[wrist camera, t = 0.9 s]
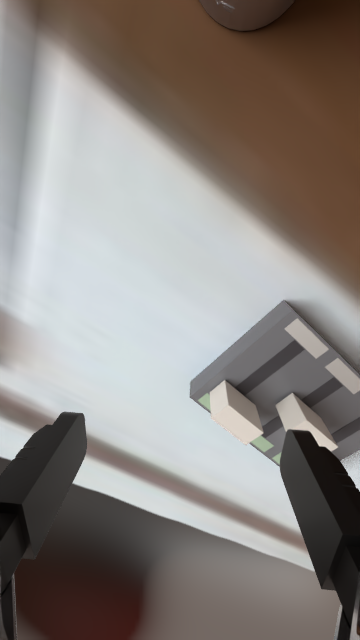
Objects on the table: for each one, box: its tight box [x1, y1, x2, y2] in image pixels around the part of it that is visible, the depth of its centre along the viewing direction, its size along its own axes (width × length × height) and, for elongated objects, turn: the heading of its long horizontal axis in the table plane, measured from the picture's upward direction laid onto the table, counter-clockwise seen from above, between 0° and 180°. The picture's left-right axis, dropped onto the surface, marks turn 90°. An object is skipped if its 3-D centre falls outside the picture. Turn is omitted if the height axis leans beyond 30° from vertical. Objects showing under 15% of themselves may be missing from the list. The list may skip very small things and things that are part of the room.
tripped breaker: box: [276, 393, 338, 451], centre depth 27 cm, size 2×5×4 cm, turn 49°
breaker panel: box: [190, 300, 360, 467], centre depth 31 cm, size 15×20×3 cm
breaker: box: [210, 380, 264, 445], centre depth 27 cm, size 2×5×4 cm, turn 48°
